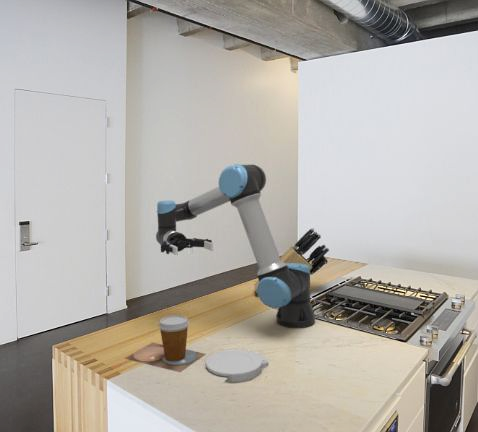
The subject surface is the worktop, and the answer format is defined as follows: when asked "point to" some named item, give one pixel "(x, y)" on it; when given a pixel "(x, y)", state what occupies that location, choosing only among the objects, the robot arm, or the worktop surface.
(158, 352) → the terracotta disc
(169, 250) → the robot arm
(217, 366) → the lid
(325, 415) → the worktop surface
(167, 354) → the disposable coffee cup
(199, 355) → the walnut board
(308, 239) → the knife block
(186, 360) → the slate disc
